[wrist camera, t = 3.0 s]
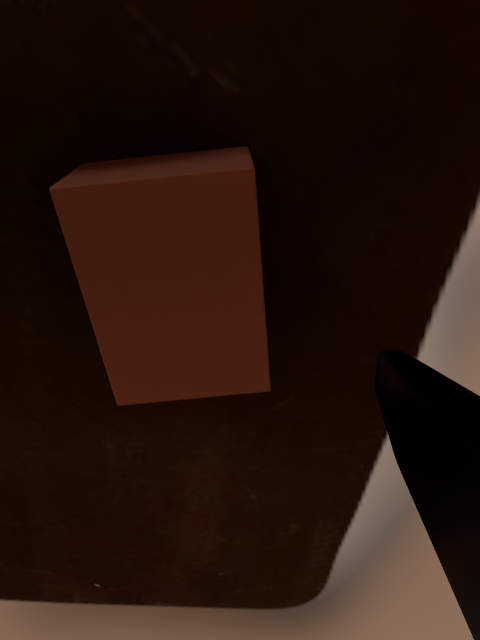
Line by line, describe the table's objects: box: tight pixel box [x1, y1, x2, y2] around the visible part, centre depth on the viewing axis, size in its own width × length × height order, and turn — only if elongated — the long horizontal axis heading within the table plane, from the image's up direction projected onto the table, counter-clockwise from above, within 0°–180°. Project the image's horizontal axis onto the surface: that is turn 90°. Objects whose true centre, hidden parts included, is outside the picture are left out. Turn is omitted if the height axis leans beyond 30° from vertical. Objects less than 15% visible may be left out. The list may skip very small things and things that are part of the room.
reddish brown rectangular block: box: [50, 146, 271, 406], centre depth 13 cm, size 7×5×3 cm
